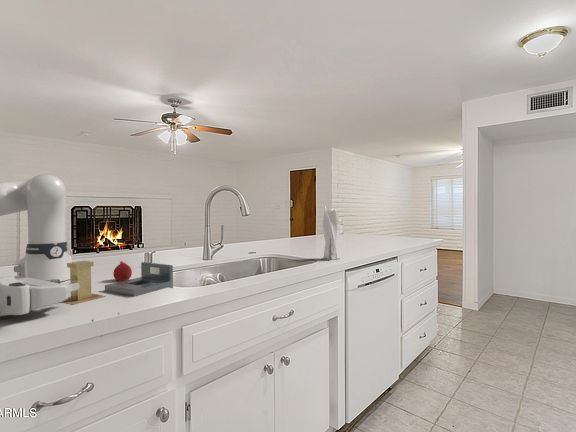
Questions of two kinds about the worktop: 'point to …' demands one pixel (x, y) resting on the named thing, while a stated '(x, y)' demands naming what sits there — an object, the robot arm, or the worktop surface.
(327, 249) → the skyscraper
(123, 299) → the worktop surface
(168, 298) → the worktop surface
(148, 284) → the tray
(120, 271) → the onion
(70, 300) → the brown square coaster
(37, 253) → the robot arm
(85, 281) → the tan wooden upright block
